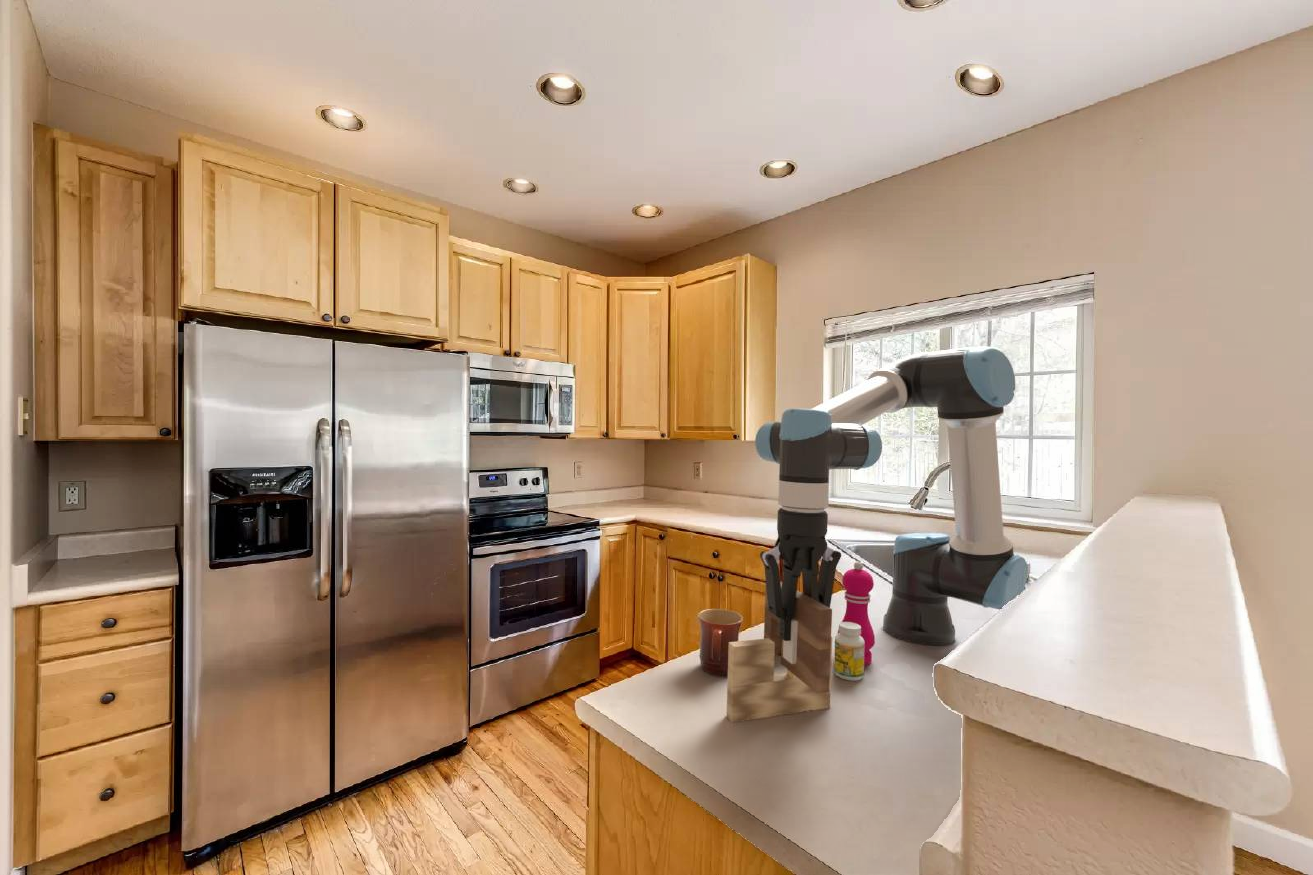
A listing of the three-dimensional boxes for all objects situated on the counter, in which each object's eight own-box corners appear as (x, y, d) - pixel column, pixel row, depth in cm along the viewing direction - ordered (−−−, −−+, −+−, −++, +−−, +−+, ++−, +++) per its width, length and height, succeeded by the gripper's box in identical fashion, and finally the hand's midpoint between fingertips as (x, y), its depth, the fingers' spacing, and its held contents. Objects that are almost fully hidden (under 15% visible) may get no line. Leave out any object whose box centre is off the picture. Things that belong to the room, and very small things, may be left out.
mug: (698, 657, 113) (700, 607, 112) (742, 662, 111) (744, 611, 111) (690, 684, 101) (692, 627, 101) (739, 690, 99) (741, 632, 99)
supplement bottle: (869, 678, 105) (871, 628, 105) (848, 683, 103) (849, 632, 103) (848, 667, 110) (850, 618, 110) (827, 671, 108) (829, 622, 107)
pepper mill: (862, 670, 109) (866, 568, 108) (829, 657, 114) (833, 560, 114) (880, 660, 114) (884, 562, 113) (848, 649, 119) (851, 555, 119)
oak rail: (822, 702, 95) (825, 632, 95) (829, 708, 94) (832, 637, 93) (726, 715, 90) (728, 642, 90) (731, 722, 88) (734, 647, 88)
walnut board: (773, 648, 96) (776, 579, 95) (829, 691, 80) (832, 609, 80) (763, 649, 95) (765, 579, 95) (817, 693, 80) (820, 610, 80)
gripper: (830, 504, 92) (825, 645, 93) (747, 505, 88) (742, 654, 88) (859, 511, 85) (853, 664, 85) (770, 513, 80) (765, 674, 81)
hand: (797, 659), depth 87 cm, fingers closed on walnut board, 2 cm apart
